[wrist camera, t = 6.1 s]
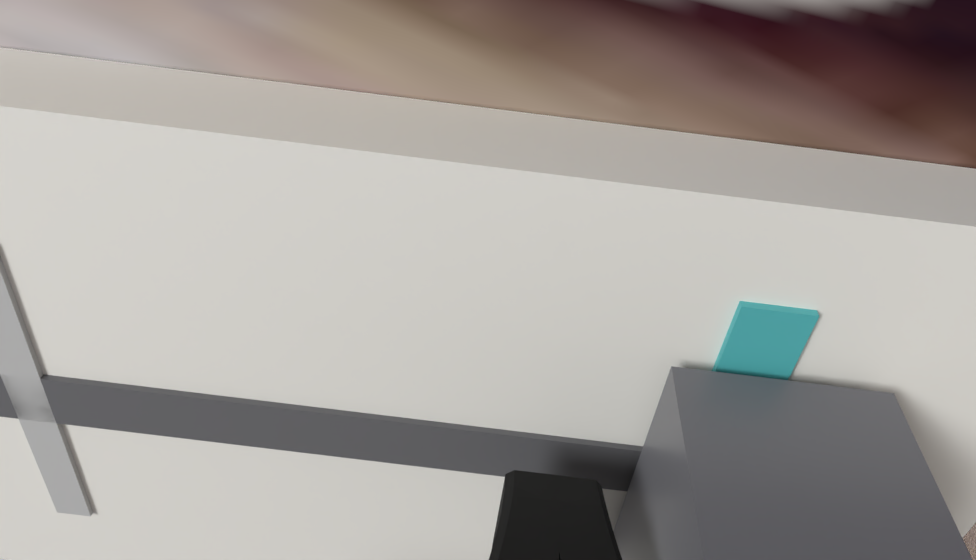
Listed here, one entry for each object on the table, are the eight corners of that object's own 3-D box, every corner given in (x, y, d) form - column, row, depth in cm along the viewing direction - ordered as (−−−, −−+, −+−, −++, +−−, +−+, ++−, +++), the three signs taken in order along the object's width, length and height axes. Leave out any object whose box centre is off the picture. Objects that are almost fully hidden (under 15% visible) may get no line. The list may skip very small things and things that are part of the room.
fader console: (-201, 465, 16) (-265, 533, 15) (-550, -22, 10) (-713, 23, 9) (837, 589, 16) (861, 666, 15) (1127, 187, 10) (1208, 261, 9)
